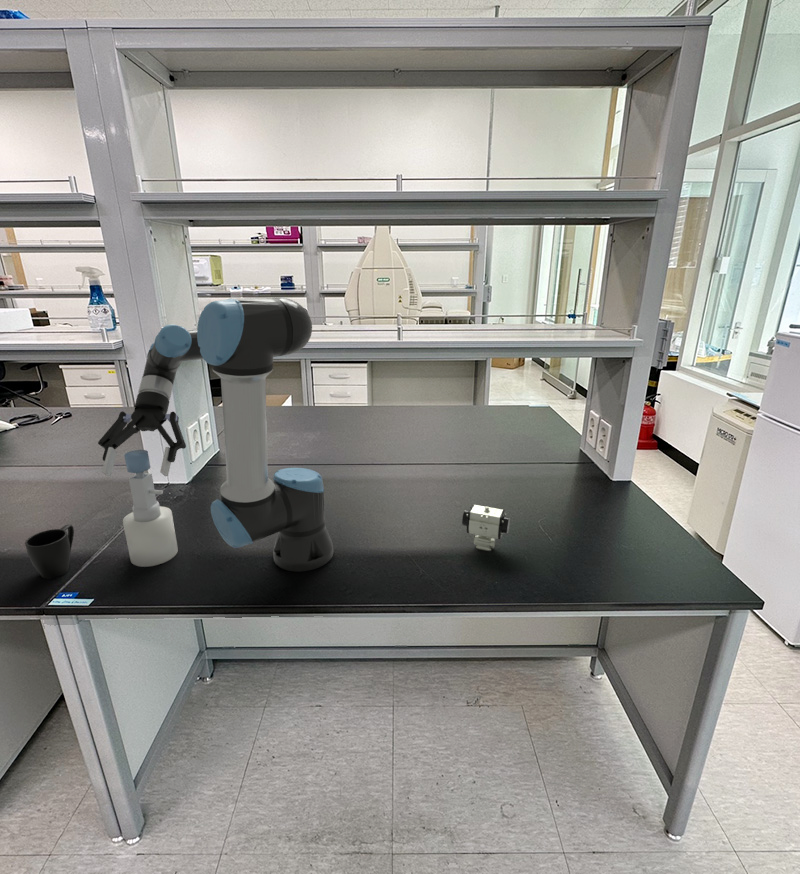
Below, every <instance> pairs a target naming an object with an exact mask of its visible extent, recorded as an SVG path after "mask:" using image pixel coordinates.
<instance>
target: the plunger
mask: <svg viewBox="0 0 800 874" xmlns="http://www.w3.org/2000/svg"><path fill="white" fill-rule="evenodd" d="M123 456H124V460H125V466H126V471H127V472H128V473H130V474H131V473H132V474H136V476H137V478H141V479H142V478H143V477H144V473H145V472H146V471H149V470H150V469H151V462H150V456H149V452H148V450H146V449H135V450H130V451H128V452H125V453H124V455H123Z"/></svg>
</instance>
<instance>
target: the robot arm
mask: <svg viewBox="0 0 800 874" xmlns="http://www.w3.org/2000/svg"><path fill="white" fill-rule="evenodd" d="M197 321H198V323H197V328H196V329H192V330H191V329H190V330H187V329H186V328H185V327H183V326H181V325H178V324H173V323H171V324H167V325H164V326H163V327H162V328H160V330H159V331H158V333H157V335H156V336H155V339H154V342H153V343H152V344H151V345H150V347H149V350H148V353H147V354H146V355H147V356H146V362H145V365H144V369H143V374H142V377H141V381H140V384H139V387H138V392H137V393H138V394H137V396H136V399H135V402H134V403H135V404H134V409H133V412H132V413H126V412H125V411H123V410H122V411H120V412H119V414H118V417H117V419H116V420H115V422H114V423H112V425H111V426H110V427H109V429H108V430H107V431H106V432H105V433H104V435H103V436H102V437H101V438H100V439H99V440H98V442H97V444H98V445H99V446H100V447H102V448H103V449H104V452H103V455H102V462H104V463H103V466H102V471H101V473H102V474H104V475H105V476H107V477H111V476H112V474H113V470H114V467H115V462H116V459H117V455H118V451H117V448H119V447H120V446H122V444H124V443H125V442H126V441H127V440H128V439H130V438H131V437H132V436H134V434H138V433H139V432H140V431H141V432H147V431H148V432H155V431H158V432H159V434H160V435H161V436H162V438H163V439H164V440H165V442H166V443H167V445H168V446H165V449H164V452H163V453H164V454H163V456H162V457H163V458H162V462H161V466H160V471H159V472H160V474H161V475H163V477H168V476H169V474H170V473H169V472H170V469H171V465H172V464H171V463H175V462H176V461H175V460H176V457H177V452H178V451H179V450H181V449H183V450H184V449H186V447H187V445H186V442H185V439H184V436H183V434H182V430H181V428H180V425H179V415H178V414H177V413H176V412H175V411H170V413H168V411H169V406H170V399H171V397H172V392H173V387H174V384H175V380H176V374H177V371H178V369H179V367H180V366H181V364H182V362H187V361H195V360H202V359H203V360H204V362H206V363H207V364H208V365H211V369H212V372H213V373H214V374H216V375H217V376H218V377H220V386H221V389H220V390H221V400H222V402H221V403H222V417H223V418H222V421H223V435H224V437H223V438H224V451H225V453H224V454H225V468H226V480H225V481H224V482H223V483H222V485H221V486H220V487H219V490H220V491H219V492H220V493H219V494H220V499H218V498H217V499H215V500H214V501H212V502H211V504H210V514H211V518H212V520H213V521H212V522H213V524H214V526H215V528H216V529H217V531H218V533H219V535H220V537H221V538H222V539H223V540H224V542H225V543H226V544H227V545H228V546H230V547H232V548H237V549H239V548H242V547H245V546H248V545H252V544H253V543H255V542H257V541H261V540H263V539H265V538H267V537H269V536H272V535H274V534H277V535H276V538H275V543H274V545H273V548H272V549H273V550H272V555H273V562H274V563H275V565H276V566H278V567H279V568H280V569H282V570H285V571H287V572H289V571H290V572H301V573H302V572H308V571H312V570H316V569H319V568H321V567H323V566H324V565H326V564H328V563H329V562H330V561H331V560H332V558H333V556H334V543H333V541H332V538H331V536H330V534H329V531H328V529H327V527H326V520H325V519H326V517H325V516H326V514H325V498H324V493H325V488H324V483H323V477H322V475H321V474H320V473H319V472H317V471H315V470H313V469H309V468H305V467H304V468H303V467H284V468H281V469H279V470H277V471H276V472H275V473H274V474H273V477H272V479H273V480H272V479H270V478H269V474H268V433H267V432H268V431H267V430H268V429H267V428H268V427H267V425H268V423H267V388H266V387H267V386H266V385H267V383H266V379H267V377H268V376H269V375H270V374H271V373H272V372H273V370H274V358H277V357H282V356H283V357H284V356H289V355H291V354H294V353H297V352H299V351H301V350H302V349H303V348H304V347H305V346H306V345H307V344H308V343H309V341H310V339H311V336H312V333H313V323H312V322H313V321H312V318H311V316H310V315H309V313H308V311H307V310H306V309H305V307H304V306H303V305H301V304H300V303H298V302H297V301H295V300H292V299H290V298H285V297H278V296H277V297H265V298H264V297H261V298H260V297H255V298H232V297H231V298H228V299H221V300H214V301H213V300H212V301H211V302H209V303H208V304H206V305H205V306H204V308H203V309H202V310H201V312H200V315H199V317H198V320H197ZM166 421H168V422H169V423H170V426H171V430H172V432H173V435H174V436H175V437H174V438H175V440H176V441H175V442H174V440H173V439H172V438H171V436H170V434H169V433H168V432H167V430H166V429H165V428H164V427H163V424H164V423H166Z"/></svg>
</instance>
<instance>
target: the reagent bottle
mask: <svg viewBox="0 0 800 874" xmlns="http://www.w3.org/2000/svg"><path fill="white" fill-rule="evenodd" d="M143 473H144V477H143V478H142V479H141V478H137V476H136V473H134V475H132V476H130V477H128V482H129V488H130V492H131V498H132V503H133V505H132V507H131V509H132V512H130V513H128V514H126V515H125V516H124V518H123V519H122V524H123V529H124V534H125V539H126V544H127V549H128V555H129V559H130V562H131V564H133V566H137V567H141V568H142V567H144V568H146V567H154V566H158V565H160V564H164V563H167V562H168V561H170V560H172V559H173V558H175V556H177V554H178V551H179V549H178V548H179V547H178V541H177V536H176V531H175V525H174V517H173V512H172V510H171V508H169V507H167V506H161V505H160V503H159V501H158V500H157V497H156V495H163V493H164V491H163V490H162V489H155V485H154V478H153V473H146V472H143Z"/></svg>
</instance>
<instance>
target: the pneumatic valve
mask: <svg viewBox="0 0 800 874" xmlns="http://www.w3.org/2000/svg"><path fill="white" fill-rule="evenodd" d="M461 523H462V526H463V527H465V529H466V533H468V534H470V535H471V534H472V535H475V536H474V538H473V544H474V545H475V548H476V549H477V550H481V551H486V552H491V551H492V549H494V548H495V545H496V540H501V539H502V537H503V534H505V535H508V533H509V530H510V523H511V517H510V516H507V513H506V509H501V508H495V507H489V506H488V505H487V506H483V505H479V504H471V505H470V507H469V509H467V508H466V509H464V511H463V514H462V520H461Z"/></svg>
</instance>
